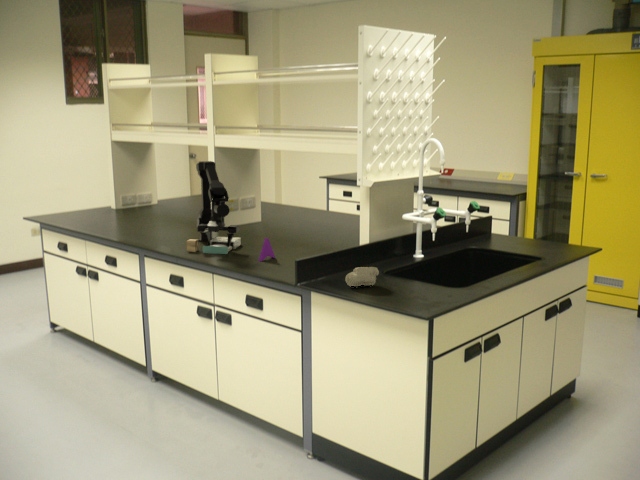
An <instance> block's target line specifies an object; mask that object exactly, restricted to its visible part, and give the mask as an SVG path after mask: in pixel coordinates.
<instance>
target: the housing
mask: <svg viewBox="0 0 640 480" xmlns="http://www.w3.org/2000/svg"><path fill="white" fill-rule="evenodd" d="M241 239H242V237H234V236H233V238H232V240H231V243H230V246H232V250H236V249H237V248H238V247H240V246H241V242H242V240H241ZM227 243H228V236H216V237H214V239H212V240H210V246H211V245H218V244H221V245H227Z"/></svg>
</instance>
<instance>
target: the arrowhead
mask: <svg viewBox="0 0 640 480" xmlns="http://www.w3.org/2000/svg"><path fill="white" fill-rule="evenodd" d="M267 257H270V258H273V259H276V256H275V253H274V250H273V247H272V245H271V242H270V239H269V238H268V237H265V238H264V241H263V244H262V248H261V251H260V255H259V257H258V262H263V261H264V260H265V259H266V258H267Z"/></svg>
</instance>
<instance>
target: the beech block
mask: <svg viewBox="0 0 640 480" xmlns="http://www.w3.org/2000/svg"><path fill="white" fill-rule="evenodd" d="M198 240H199V239H194V238H192V239H191V238H190V239H188V240H186V252H193V253H195V252H198V251H199V241H198Z"/></svg>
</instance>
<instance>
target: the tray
mask: <svg viewBox="0 0 640 480" xmlns="http://www.w3.org/2000/svg"><path fill="white" fill-rule="evenodd" d="M231 250H233V245H230V246H229V247H228V245H226V247H220V246H212V245H211V246H208V245H202V253H203V254H216V255H217V254H222V255H228V254H229V252H230V251H231Z"/></svg>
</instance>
